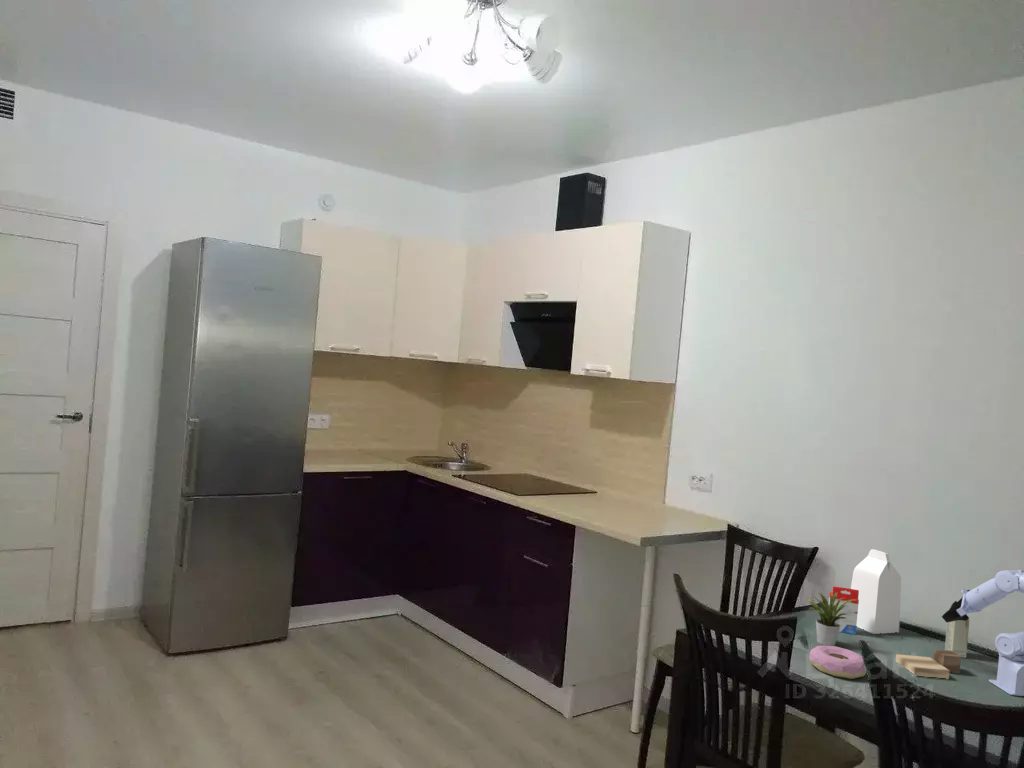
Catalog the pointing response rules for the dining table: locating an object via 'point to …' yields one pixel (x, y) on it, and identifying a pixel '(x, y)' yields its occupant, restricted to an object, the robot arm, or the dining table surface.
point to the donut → (837, 661)
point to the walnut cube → (948, 660)
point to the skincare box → (957, 637)
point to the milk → (877, 593)
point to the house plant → (828, 619)
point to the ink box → (847, 609)
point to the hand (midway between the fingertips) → (949, 614)
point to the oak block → (923, 666)
